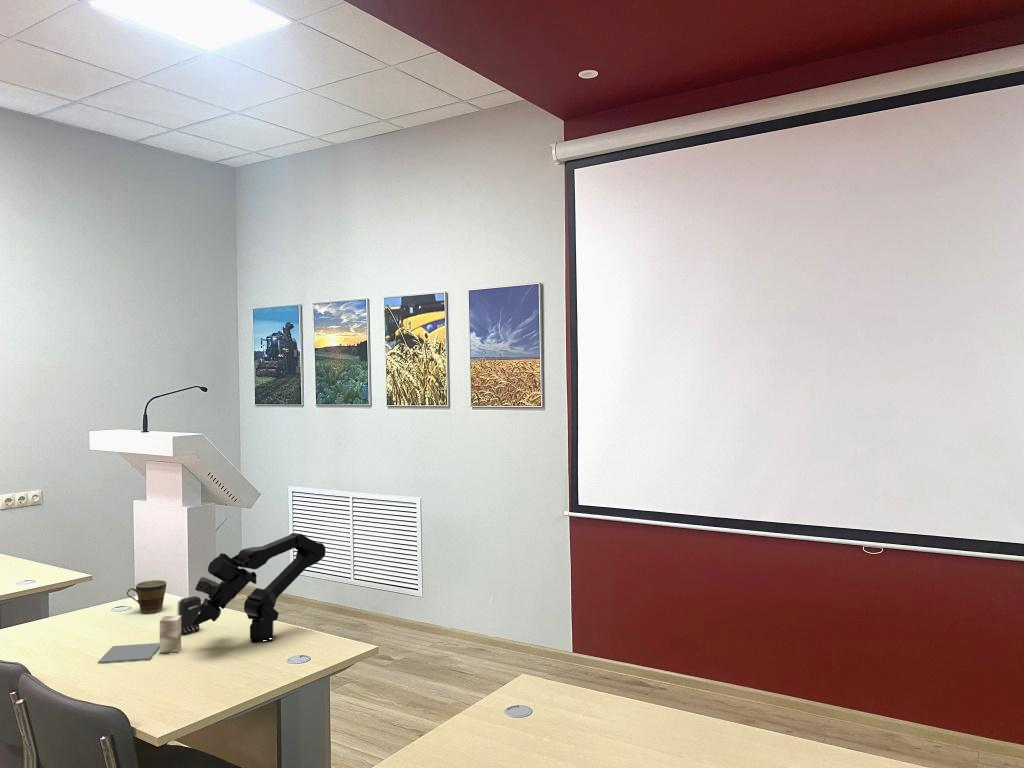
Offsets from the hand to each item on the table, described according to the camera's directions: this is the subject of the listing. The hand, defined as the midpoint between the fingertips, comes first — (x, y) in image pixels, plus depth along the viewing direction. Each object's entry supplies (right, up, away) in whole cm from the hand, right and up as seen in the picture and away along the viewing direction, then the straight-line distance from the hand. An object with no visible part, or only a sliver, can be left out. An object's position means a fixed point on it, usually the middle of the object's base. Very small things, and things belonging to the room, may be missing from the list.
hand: (193, 624), depth 231 cm
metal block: (-6, -8, -1) cm, 10 cm away
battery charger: (-8, -8, +17) cm, 20 cm away
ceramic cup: (-34, -8, +40) cm, 53 cm away
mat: (-17, -8, -4) cm, 19 cm away
